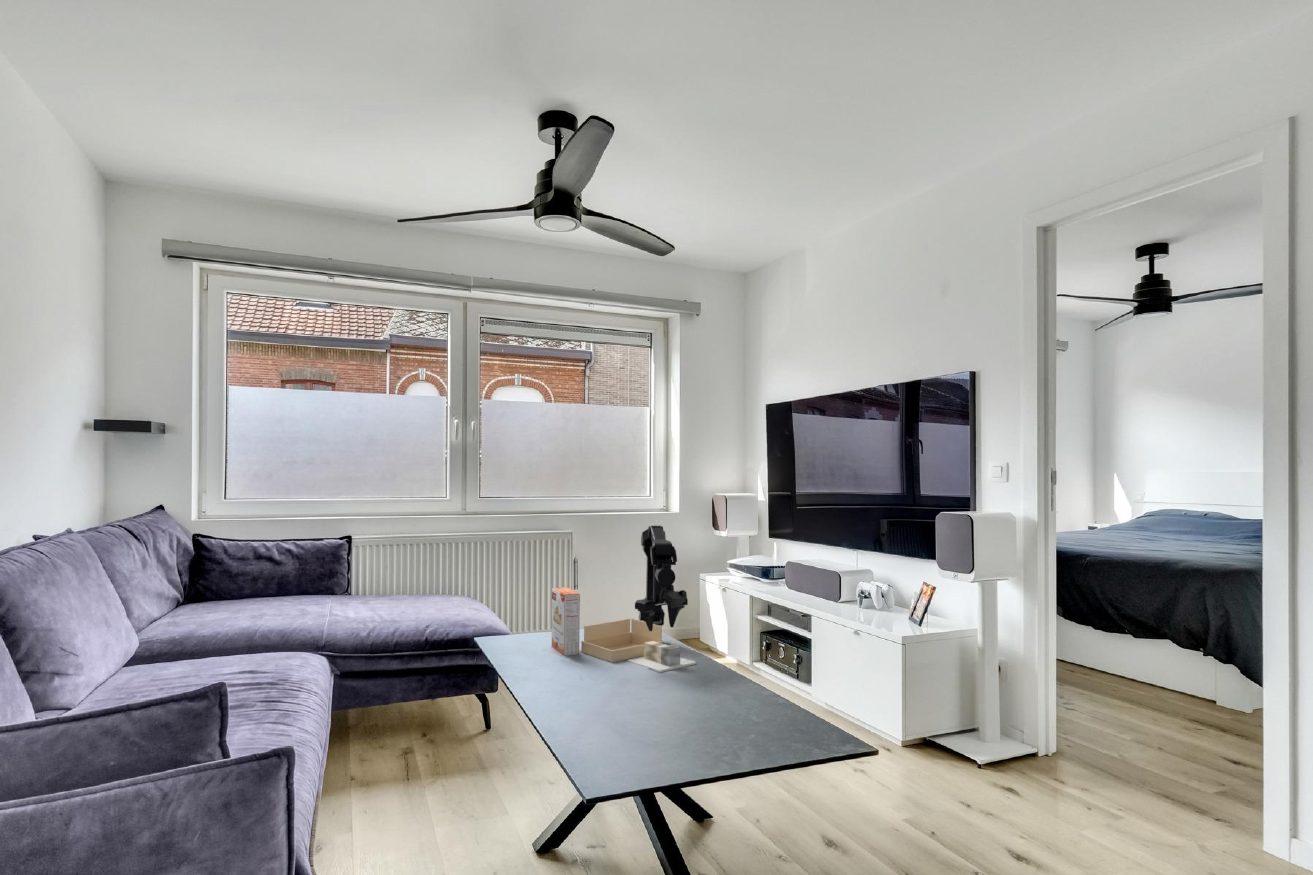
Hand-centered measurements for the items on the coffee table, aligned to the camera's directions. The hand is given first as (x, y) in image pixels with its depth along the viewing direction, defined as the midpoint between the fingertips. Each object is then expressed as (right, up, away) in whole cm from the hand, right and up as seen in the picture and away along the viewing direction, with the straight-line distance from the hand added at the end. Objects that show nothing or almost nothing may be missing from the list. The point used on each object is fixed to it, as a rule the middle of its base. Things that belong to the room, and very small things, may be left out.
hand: (661, 629), depth 247 cm
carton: (-13, -11, +11) cm, 21 cm away
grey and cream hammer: (0, -10, -1) cm, 10 cm away
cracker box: (-33, -11, +13) cm, 37 cm away
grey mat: (0, -11, -1) cm, 11 cm away
